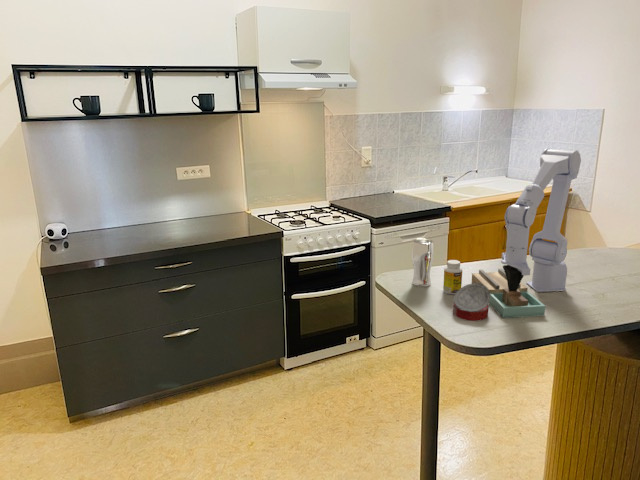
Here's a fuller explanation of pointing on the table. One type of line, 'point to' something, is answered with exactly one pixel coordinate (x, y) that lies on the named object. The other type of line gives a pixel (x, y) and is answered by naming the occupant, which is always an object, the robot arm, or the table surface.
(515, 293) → the brown block
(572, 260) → the table surface
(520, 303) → the block
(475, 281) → the slot deck
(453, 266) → the supplement bottle
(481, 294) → the canned food
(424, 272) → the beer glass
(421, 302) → the table surface
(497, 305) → the tray
